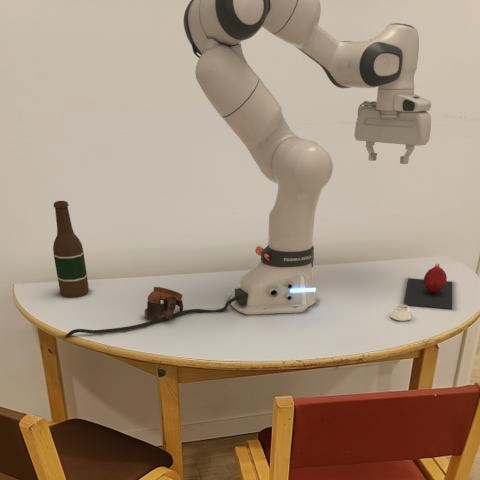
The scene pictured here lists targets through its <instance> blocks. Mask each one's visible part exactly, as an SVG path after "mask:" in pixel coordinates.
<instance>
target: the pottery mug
mask: <svg viewBox="0 0 480 480" xmlns="http://www.w3.org/2000/svg"><path fill="white" fill-rule="evenodd" d="M182 298H183V294H181V293H180V292H178V291H175V290H173V289H170V288H166V287H161V286H154V287H153V290H152V291H151V292H150V293H149V294H148V296H147V303H146V308H145V309H144V318H145V319H149V321H152V320H155V319H161V318H162V317H165V318H166V319H167V320H170V319H172V317H173V314H174V313H175V310H176V308H177V307H179V308H178V309H179V311H178V312H181V311H184V304H183V302H184V301H183V300H182ZM161 301H162V302H163V303H161ZM176 306H177V307H176ZM169 318H170V319H169ZM173 318H174V317H173ZM159 323H162V321H160V322H159Z"/></svg>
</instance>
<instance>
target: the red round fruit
mask: <svg viewBox="0 0 480 480" xmlns="http://www.w3.org/2000/svg"><path fill="white" fill-rule="evenodd" d="M440 265H441V264H440V263H435V264H434V266H433V267H431V268H429V269H428V270H427V272H426V273H425V274H424V275H423V280H424V285H425V287H426V289H427V290H428V291H430V292H431V293H436V292H437V291H439V290H441V289H442V288H443V287H444V286H445V284H446V281H447V279H448V277H447V274H446V272H445V269H443V268H442V267H441V266H440Z"/></svg>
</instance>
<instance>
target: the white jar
mask: <svg viewBox="0 0 480 480" xmlns="http://www.w3.org/2000/svg"><path fill="white" fill-rule="evenodd" d="M390 317H391V318H392V319H393V320H395V321H399V322H405V321H409V320H411V319H412V317H413V314H412V312H411V309H410V306H407V305H404V304H397V305H395V308H394V309H393V310H392V311H391V313H390Z"/></svg>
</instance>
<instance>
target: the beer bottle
mask: <svg viewBox="0 0 480 480" xmlns="http://www.w3.org/2000/svg"><path fill="white" fill-rule="evenodd" d="M69 205H70V204H69V203H68V201H66V200H57V201H55V202H54V203H53V208H54V212H55V220H56V221H55V222H56V237H55V239H54V241H53V246H52V251H53V259H54V265H55V270H56V275H57V282H58V287H59V292H60V295H61V296H63V297H65V298H79V297H83V296H86V295H87V294H88V292H89V291H90V290H89V289H90V288H89V280H88V273H87V266H86V259H85V252H84V248H83V244H82V242H81V240H80V238H79V237H78V236H77V235H76V233H75V232H74V229H73V224H72V221H71V216H70V212H69Z"/></svg>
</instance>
